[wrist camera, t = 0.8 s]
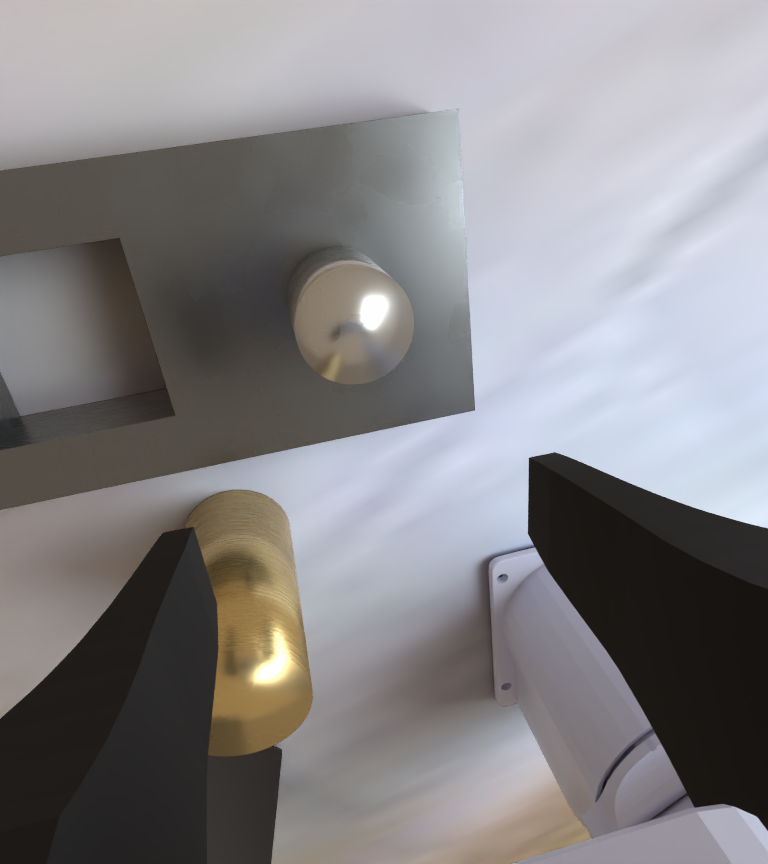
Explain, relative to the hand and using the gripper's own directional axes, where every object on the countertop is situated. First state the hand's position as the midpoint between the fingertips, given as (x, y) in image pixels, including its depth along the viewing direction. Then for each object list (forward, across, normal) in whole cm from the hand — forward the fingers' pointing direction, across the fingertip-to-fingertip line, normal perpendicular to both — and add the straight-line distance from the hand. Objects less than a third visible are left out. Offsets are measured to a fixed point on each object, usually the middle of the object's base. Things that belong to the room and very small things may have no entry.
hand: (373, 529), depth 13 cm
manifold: (+10, +3, -3) cm, 11 cm away
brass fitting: (+10, +4, +6) cm, 12 cm away
